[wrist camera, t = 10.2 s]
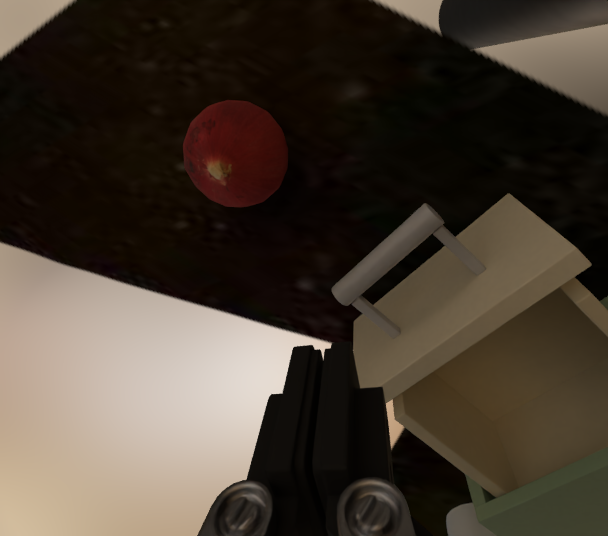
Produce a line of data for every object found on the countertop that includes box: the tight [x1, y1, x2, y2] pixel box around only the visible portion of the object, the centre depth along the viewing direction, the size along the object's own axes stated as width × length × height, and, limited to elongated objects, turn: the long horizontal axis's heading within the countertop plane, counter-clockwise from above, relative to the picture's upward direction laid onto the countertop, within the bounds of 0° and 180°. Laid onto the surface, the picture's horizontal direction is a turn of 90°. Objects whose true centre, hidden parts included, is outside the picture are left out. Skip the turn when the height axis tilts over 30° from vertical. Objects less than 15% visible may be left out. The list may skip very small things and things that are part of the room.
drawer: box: [332, 194, 608, 498], centre depth 24 cm, size 20×14×8 cm
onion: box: [183, 100, 288, 207], centre depth 22 cm, size 6×6×8 cm
